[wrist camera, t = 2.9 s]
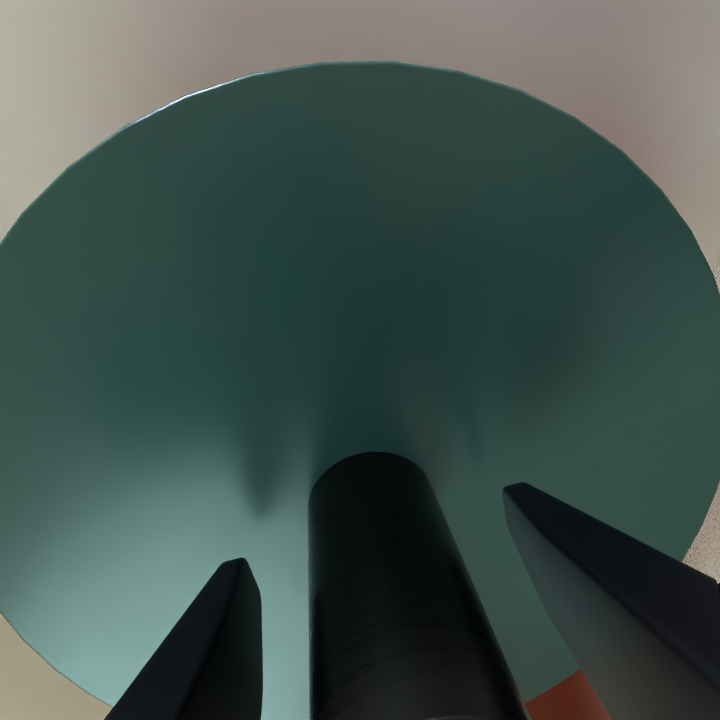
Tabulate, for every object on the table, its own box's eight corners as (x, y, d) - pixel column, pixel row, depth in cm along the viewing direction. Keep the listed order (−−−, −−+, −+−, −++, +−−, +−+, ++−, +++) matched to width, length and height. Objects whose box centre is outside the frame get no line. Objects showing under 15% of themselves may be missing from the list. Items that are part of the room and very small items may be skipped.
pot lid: (708, -23, 8) (1729, -557, 2) (686, 625, 14) (959, 938, 8) (-213, 203, 8) (-1762, 247, 2) (158, 772, 13) (49, 1209, 8)
